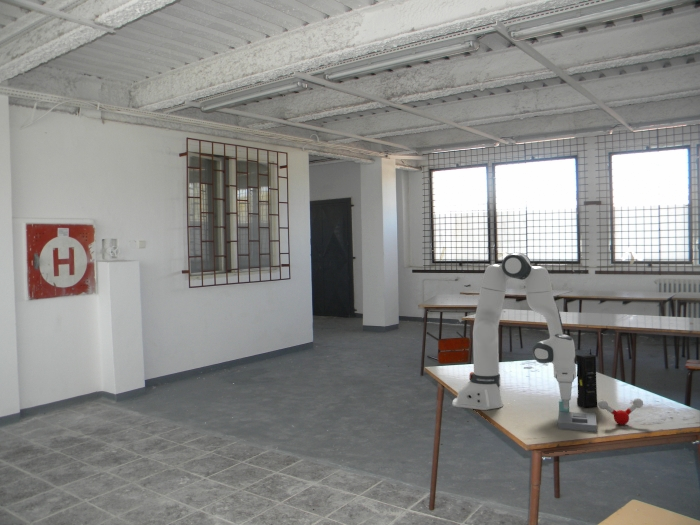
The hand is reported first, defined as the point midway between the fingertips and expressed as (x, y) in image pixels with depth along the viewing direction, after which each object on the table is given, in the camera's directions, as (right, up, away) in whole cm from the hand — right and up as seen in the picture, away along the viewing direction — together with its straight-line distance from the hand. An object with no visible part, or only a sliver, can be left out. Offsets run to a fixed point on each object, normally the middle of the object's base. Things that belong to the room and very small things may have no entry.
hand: (565, 405), depth 248 cm
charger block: (-1, -4, 0) cm, 4 cm away
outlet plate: (0, -4, -13) cm, 14 cm away
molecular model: (+16, -4, -15) cm, 23 cm away
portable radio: (+13, -3, +11) cm, 18 cm away
